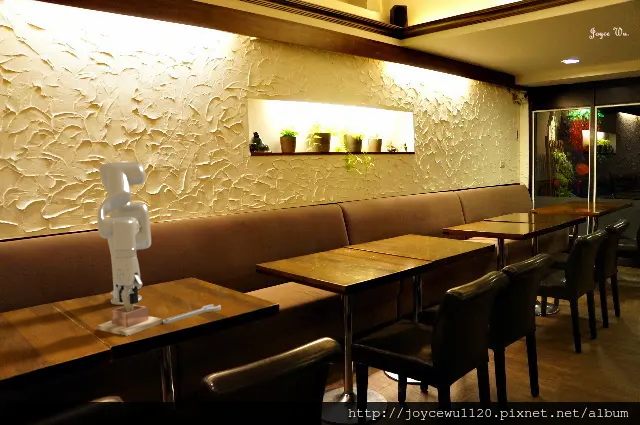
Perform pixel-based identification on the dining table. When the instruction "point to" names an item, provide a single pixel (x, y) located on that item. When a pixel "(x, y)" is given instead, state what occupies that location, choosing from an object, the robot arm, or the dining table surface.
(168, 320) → the adjustable wrench
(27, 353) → the dining table surface
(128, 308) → the ice cream cone
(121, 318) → the cone stand
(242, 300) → the dining table surface
